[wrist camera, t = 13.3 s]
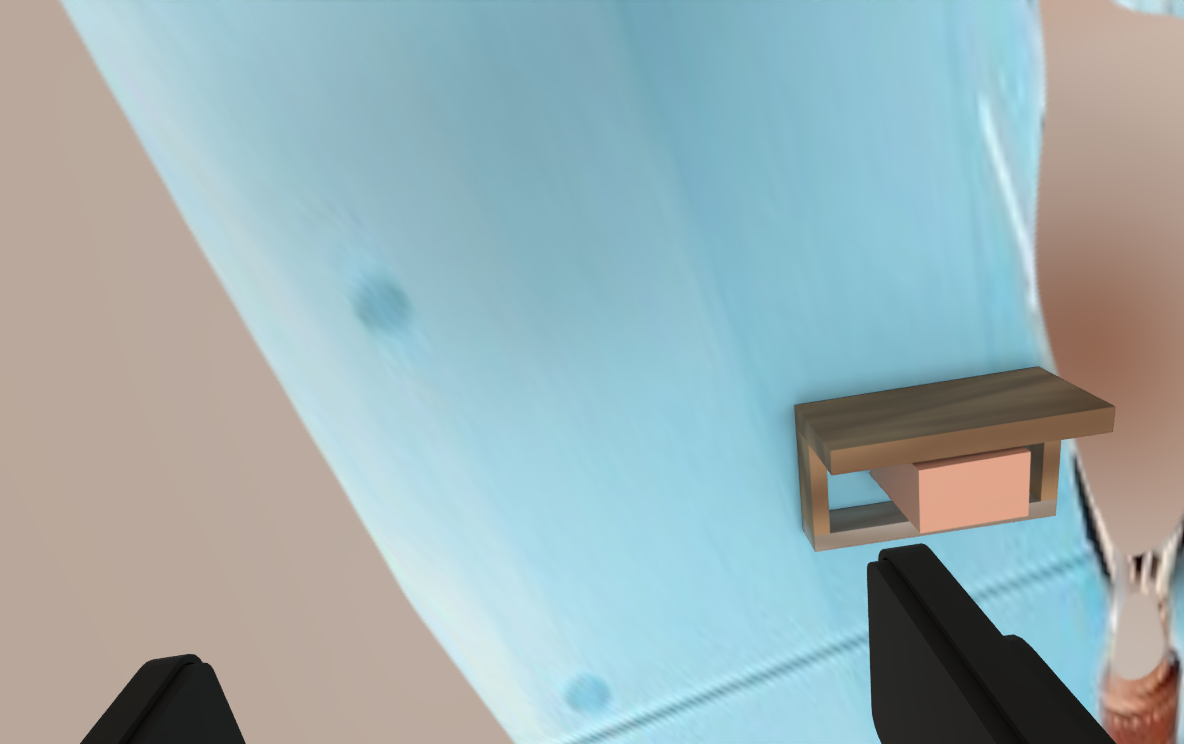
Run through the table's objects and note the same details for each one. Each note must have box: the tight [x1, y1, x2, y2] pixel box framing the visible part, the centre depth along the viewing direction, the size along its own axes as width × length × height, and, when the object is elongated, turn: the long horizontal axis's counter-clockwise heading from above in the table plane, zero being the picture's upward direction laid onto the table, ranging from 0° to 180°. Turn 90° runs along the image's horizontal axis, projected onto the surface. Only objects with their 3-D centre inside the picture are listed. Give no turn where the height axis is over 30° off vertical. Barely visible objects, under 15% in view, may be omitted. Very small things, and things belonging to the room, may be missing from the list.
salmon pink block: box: [870, 446, 1031, 534], centre depth 42 cm, size 5×6×7 cm
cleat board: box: [795, 367, 1115, 552], centre depth 42 cm, size 9×15×6 cm, turn 99°
